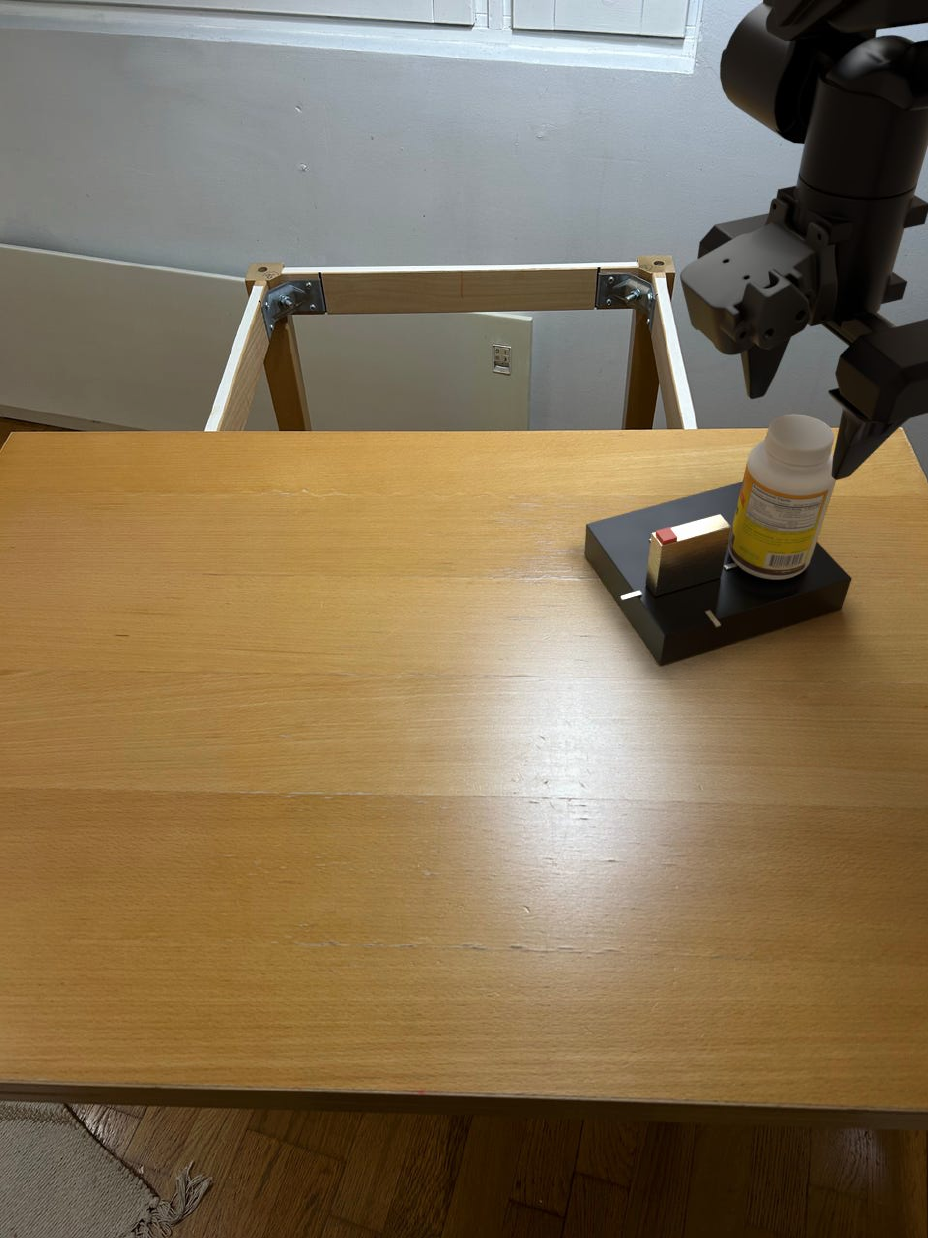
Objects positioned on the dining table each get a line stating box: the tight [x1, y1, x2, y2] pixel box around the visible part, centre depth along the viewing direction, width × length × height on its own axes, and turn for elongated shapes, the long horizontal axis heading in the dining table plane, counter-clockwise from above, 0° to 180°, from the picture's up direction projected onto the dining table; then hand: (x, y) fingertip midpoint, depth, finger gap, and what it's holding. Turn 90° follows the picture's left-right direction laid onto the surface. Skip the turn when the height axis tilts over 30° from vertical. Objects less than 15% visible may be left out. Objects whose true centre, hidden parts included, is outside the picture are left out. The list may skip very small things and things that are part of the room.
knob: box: [645, 514, 731, 597], centre depth 65 cm, size 5×1×5 cm, turn 110°
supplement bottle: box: [729, 414, 837, 580], centre depth 64 cm, size 6×6×10 cm
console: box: [583, 480, 853, 667], centre depth 69 cm, size 13×15×3 cm
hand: (795, 434), depth 61 cm, fingers open, 9 cm apart
